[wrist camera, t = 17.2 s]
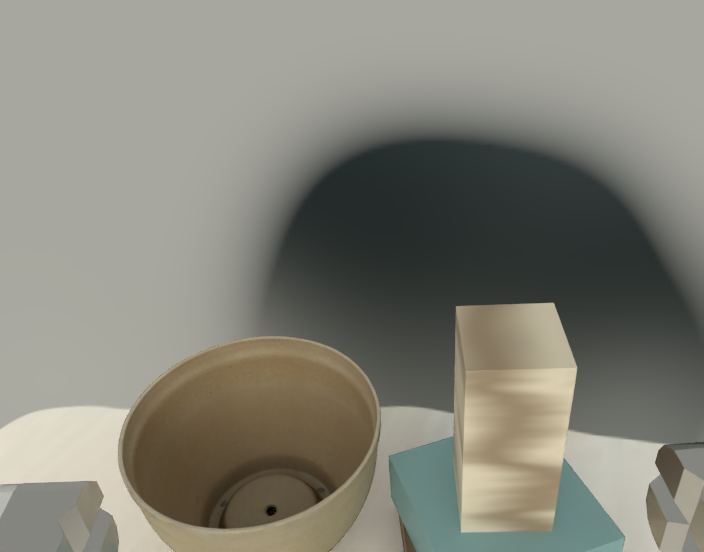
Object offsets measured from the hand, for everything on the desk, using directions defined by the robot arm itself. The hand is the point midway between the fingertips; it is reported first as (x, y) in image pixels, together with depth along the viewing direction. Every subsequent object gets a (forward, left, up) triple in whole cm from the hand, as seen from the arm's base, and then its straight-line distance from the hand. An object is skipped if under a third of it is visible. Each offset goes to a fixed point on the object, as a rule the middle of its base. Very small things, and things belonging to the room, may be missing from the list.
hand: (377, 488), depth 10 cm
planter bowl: (+8, -23, -32) cm, 40 cm away
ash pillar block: (-7, -19, -24) cm, 32 cm away
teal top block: (-7, -19, -28) cm, 35 cm away
